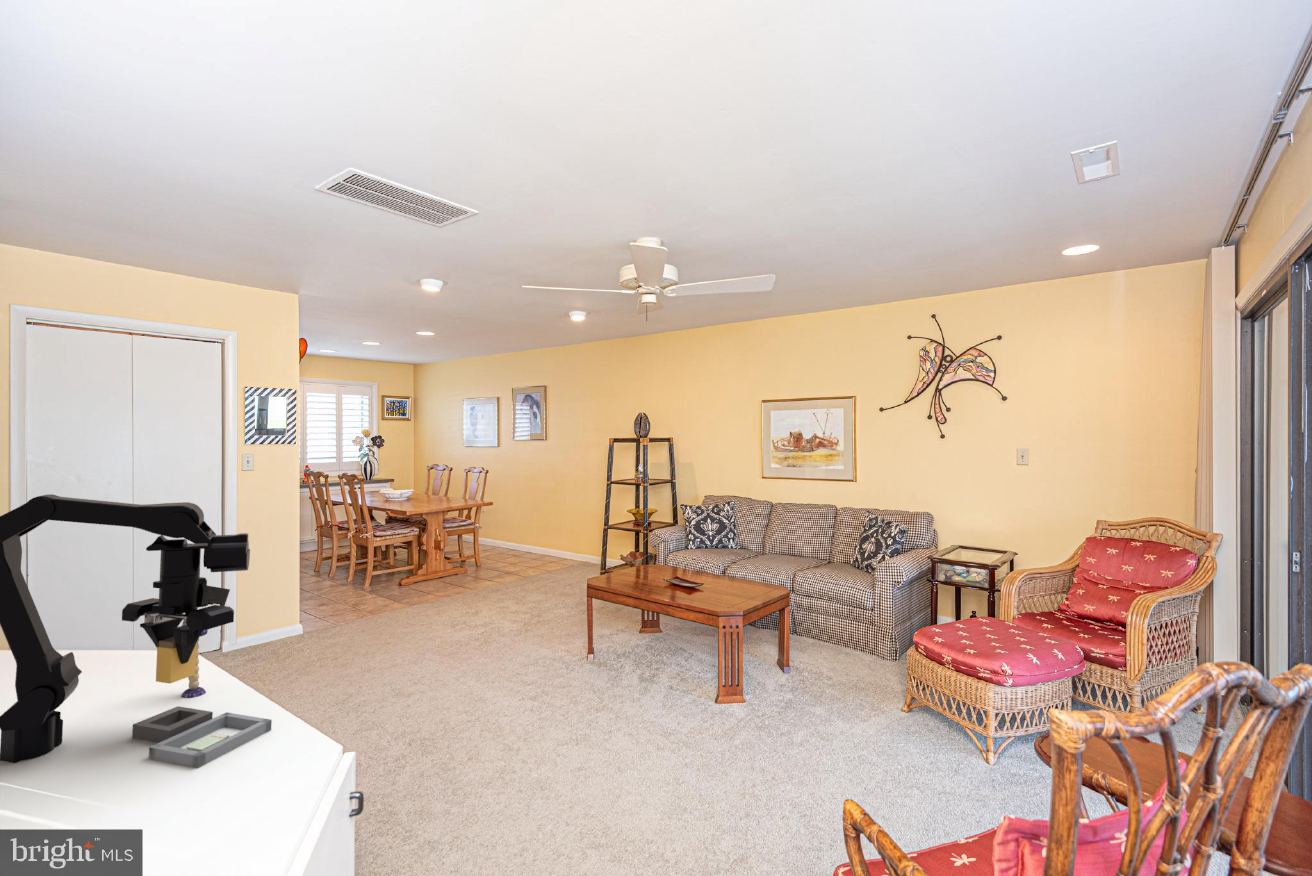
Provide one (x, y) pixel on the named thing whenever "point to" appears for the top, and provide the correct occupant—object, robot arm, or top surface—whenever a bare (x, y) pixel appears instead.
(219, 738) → the block
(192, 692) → the toy lamp
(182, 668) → the block
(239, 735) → the parts tray
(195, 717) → the fuse holder
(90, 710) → the top surface
